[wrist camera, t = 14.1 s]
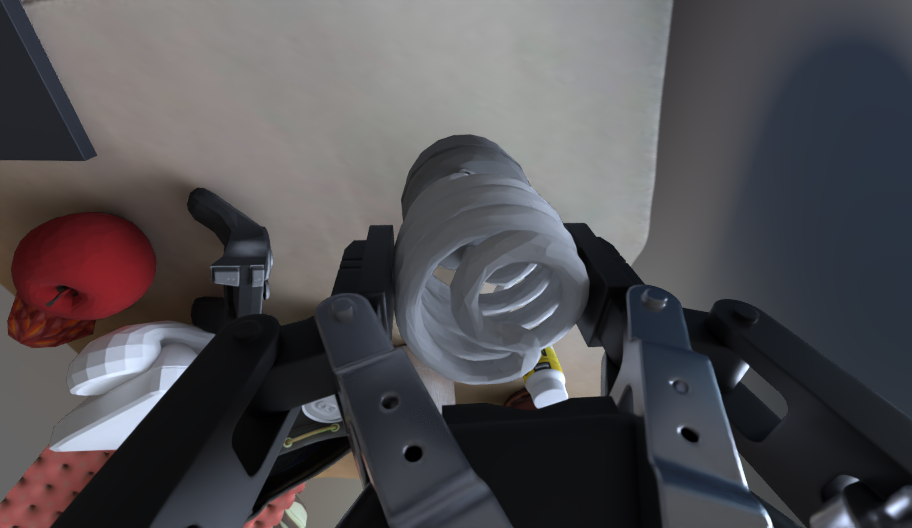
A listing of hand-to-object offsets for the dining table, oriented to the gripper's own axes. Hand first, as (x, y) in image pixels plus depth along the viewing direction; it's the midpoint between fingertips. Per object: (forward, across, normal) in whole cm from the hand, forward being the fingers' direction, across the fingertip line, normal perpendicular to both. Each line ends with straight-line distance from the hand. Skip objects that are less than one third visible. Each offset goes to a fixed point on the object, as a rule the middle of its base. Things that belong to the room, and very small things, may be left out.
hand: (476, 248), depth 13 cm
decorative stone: (+23, +37, +19) cm, 47 cm away
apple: (+23, +31, +13) cm, 41 cm away
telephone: (+13, +27, +28) cm, 41 cm away
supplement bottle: (+23, -12, +30) cm, 40 cm away
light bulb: (+8, 0, 0) cm, 8 cm away
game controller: (+23, +20, +16) cm, 35 cm away
